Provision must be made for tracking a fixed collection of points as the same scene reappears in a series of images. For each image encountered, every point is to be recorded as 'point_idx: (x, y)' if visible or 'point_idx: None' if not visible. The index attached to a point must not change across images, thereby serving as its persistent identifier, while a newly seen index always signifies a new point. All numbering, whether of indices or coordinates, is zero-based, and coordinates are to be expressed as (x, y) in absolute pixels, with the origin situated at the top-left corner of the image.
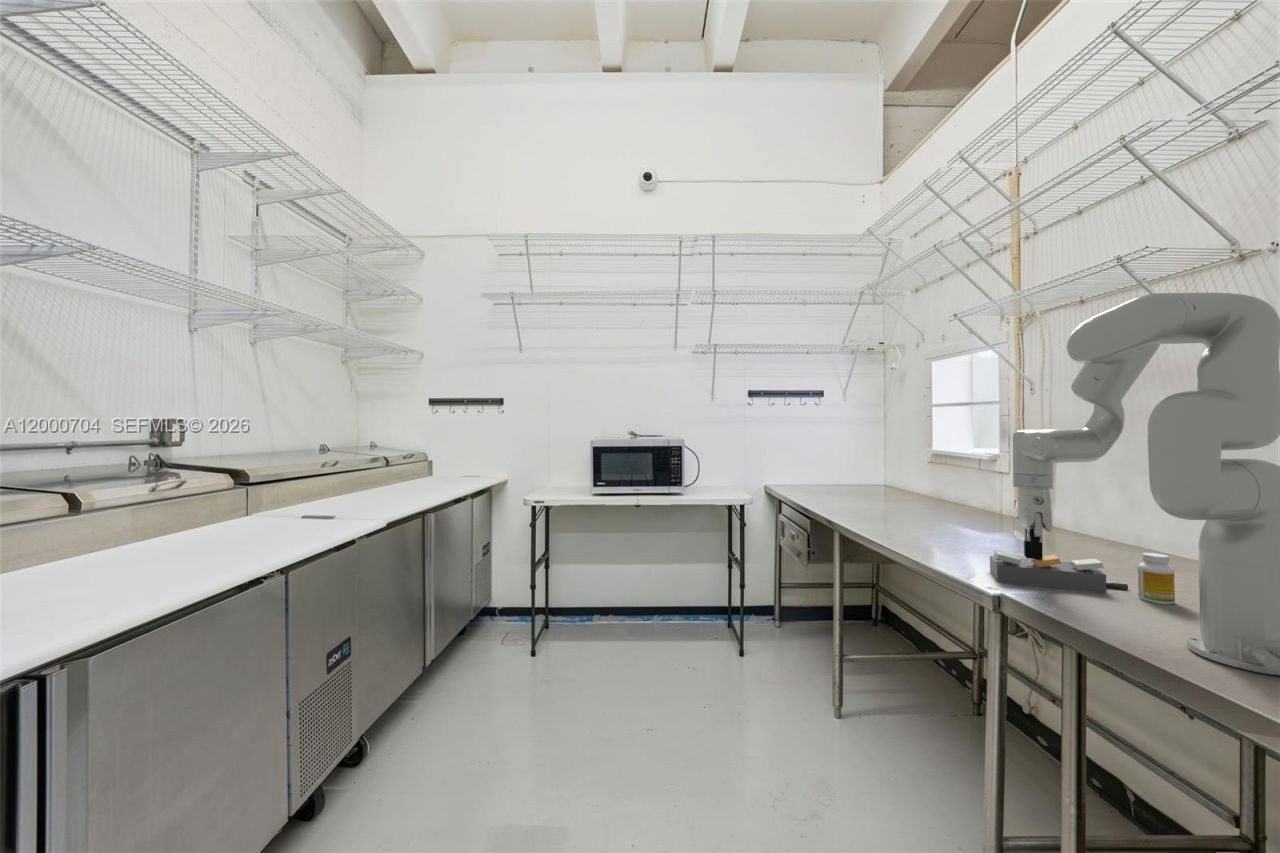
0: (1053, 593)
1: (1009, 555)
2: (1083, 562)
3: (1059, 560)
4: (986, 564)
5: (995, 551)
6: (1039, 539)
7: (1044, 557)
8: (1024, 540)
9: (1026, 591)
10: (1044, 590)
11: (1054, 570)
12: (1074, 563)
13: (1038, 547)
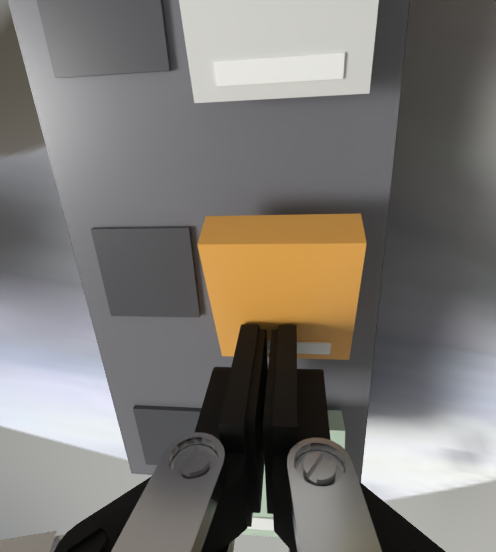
0: (491, 239)
1: None
2: (307, 8)
3: (361, 231)
4: (29, 397)
5: (256, 534)
6: (395, 514)
7: (254, 305)
8: (247, 526)
9: (485, 345)
10: (439, 267)
11: (383, 244)
12: (307, 96)
13: (328, 422)
